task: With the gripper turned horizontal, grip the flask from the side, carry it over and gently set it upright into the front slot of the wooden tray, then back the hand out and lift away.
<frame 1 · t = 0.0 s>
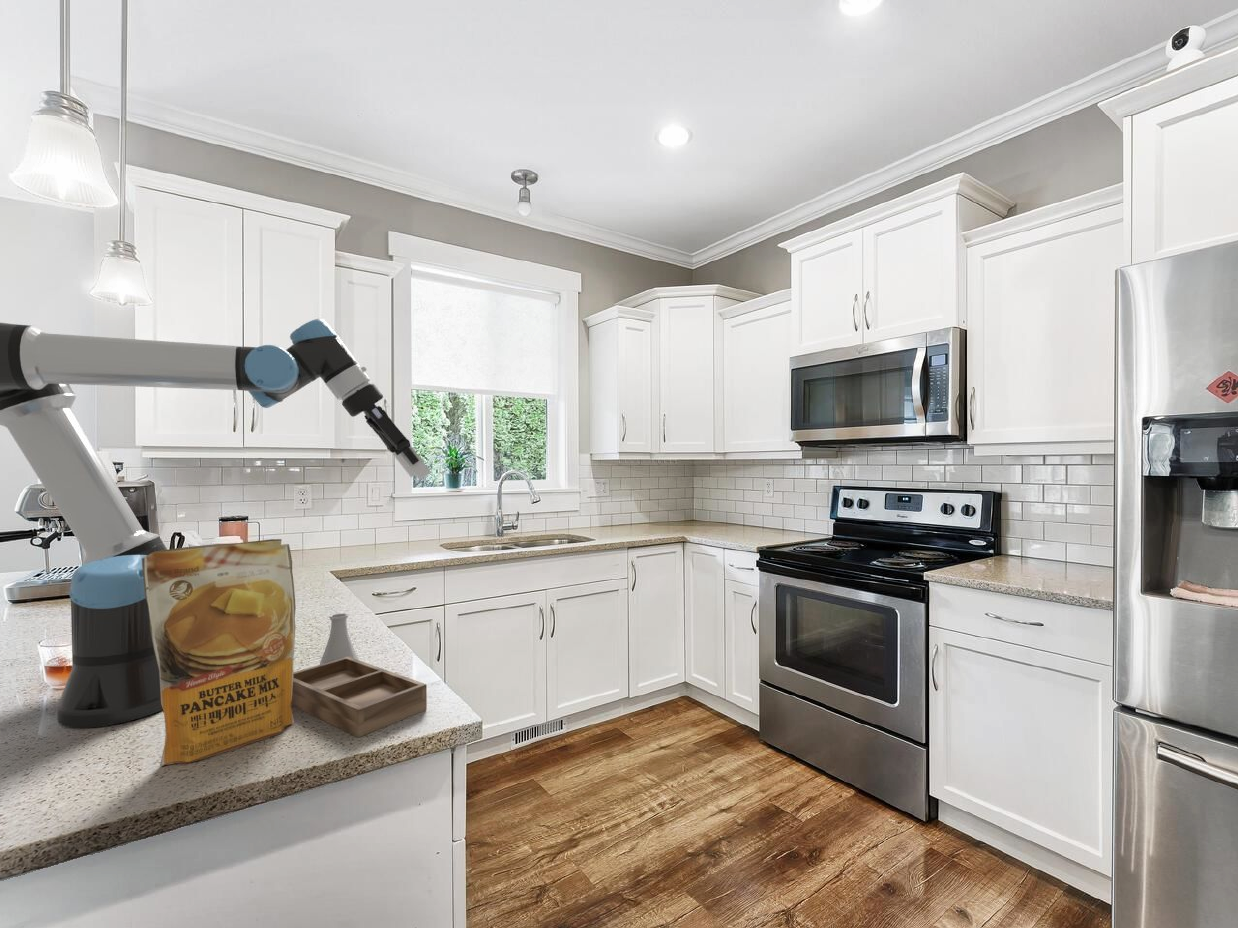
hand: (420, 475, 129), 36 cm above the worktop, tool tilted 35°, fingers open, 13 cm apart
wooden tray: (352, 704, 98), on the worktop
flask: (339, 668, 115), on the worktop
pancake mix bag: (229, 743, 85), on the worktop
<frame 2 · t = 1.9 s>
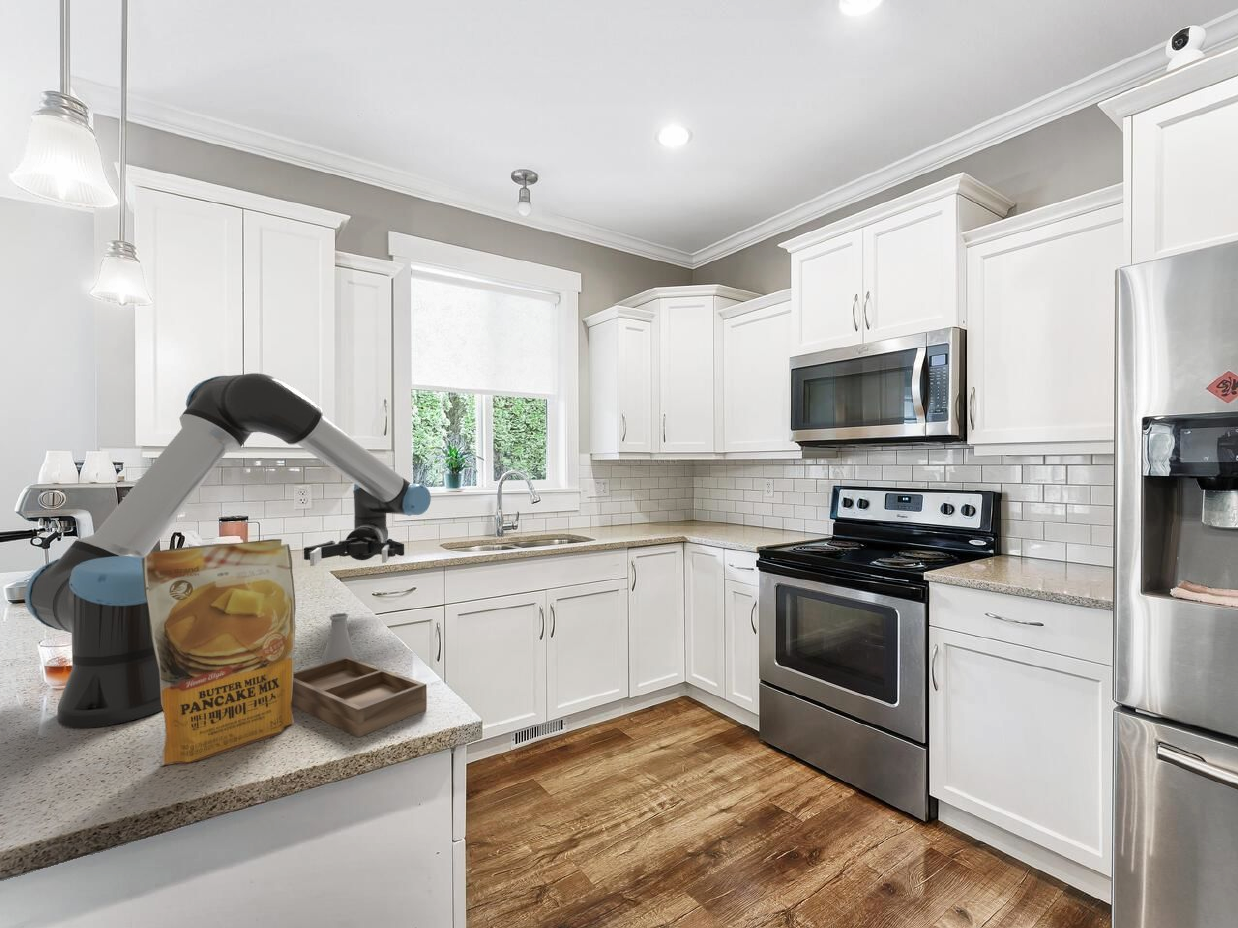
hand: (348, 557, 124), 19 cm above the worktop, tool horizontal, fingers open, 13 cm apart
nothing on the worktop moved.
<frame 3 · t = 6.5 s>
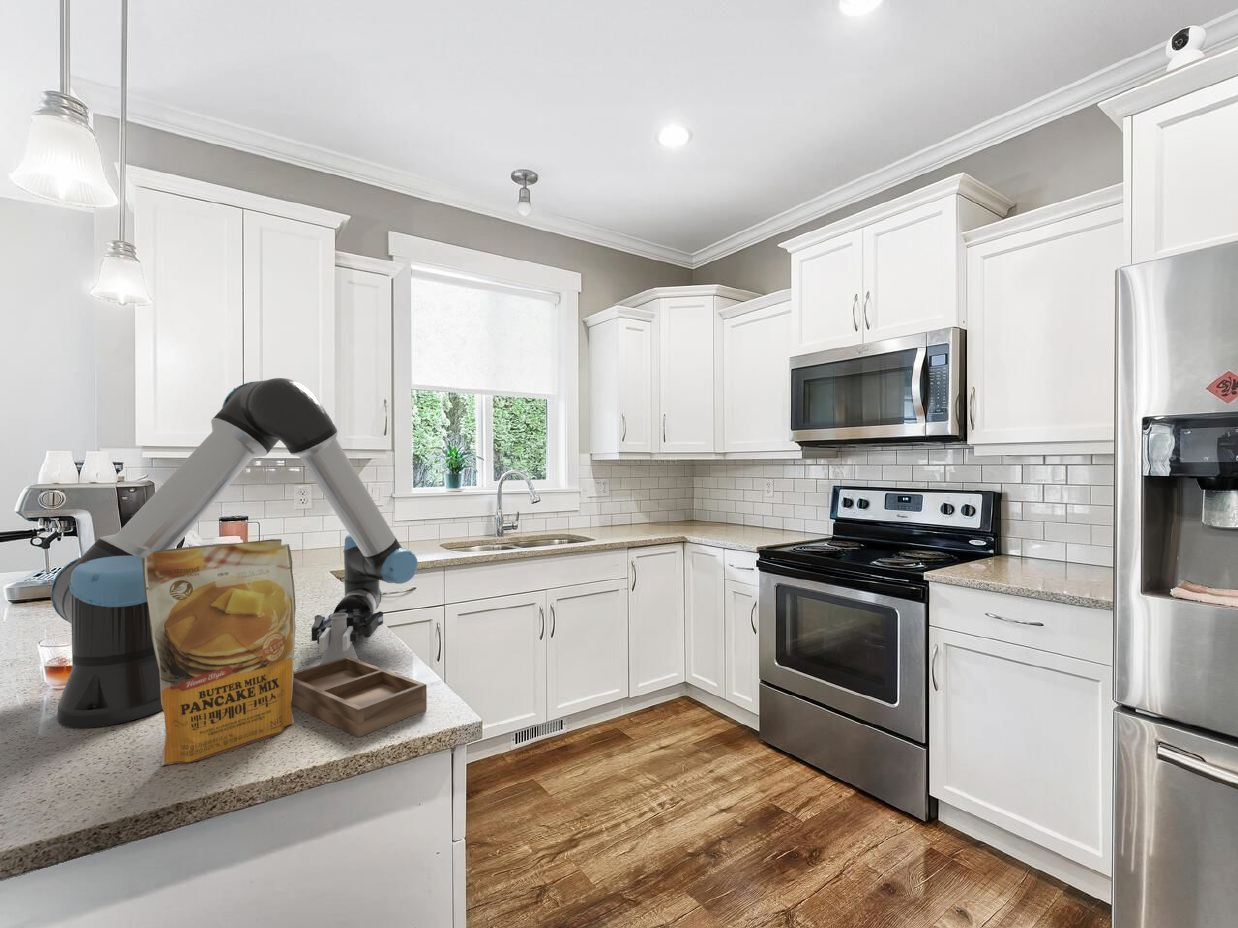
hand: (333, 644, 109), 6 cm above the worktop, tool horizontal, fingers closed on flask, 3 cm apart
flask: (339, 668, 115), on the worktop, touching gripper
everything else where it was.
when the fingers open (10 cm above the worktop, at t = 11.9 s): flask drops 2 cm, resting on wooden tray.
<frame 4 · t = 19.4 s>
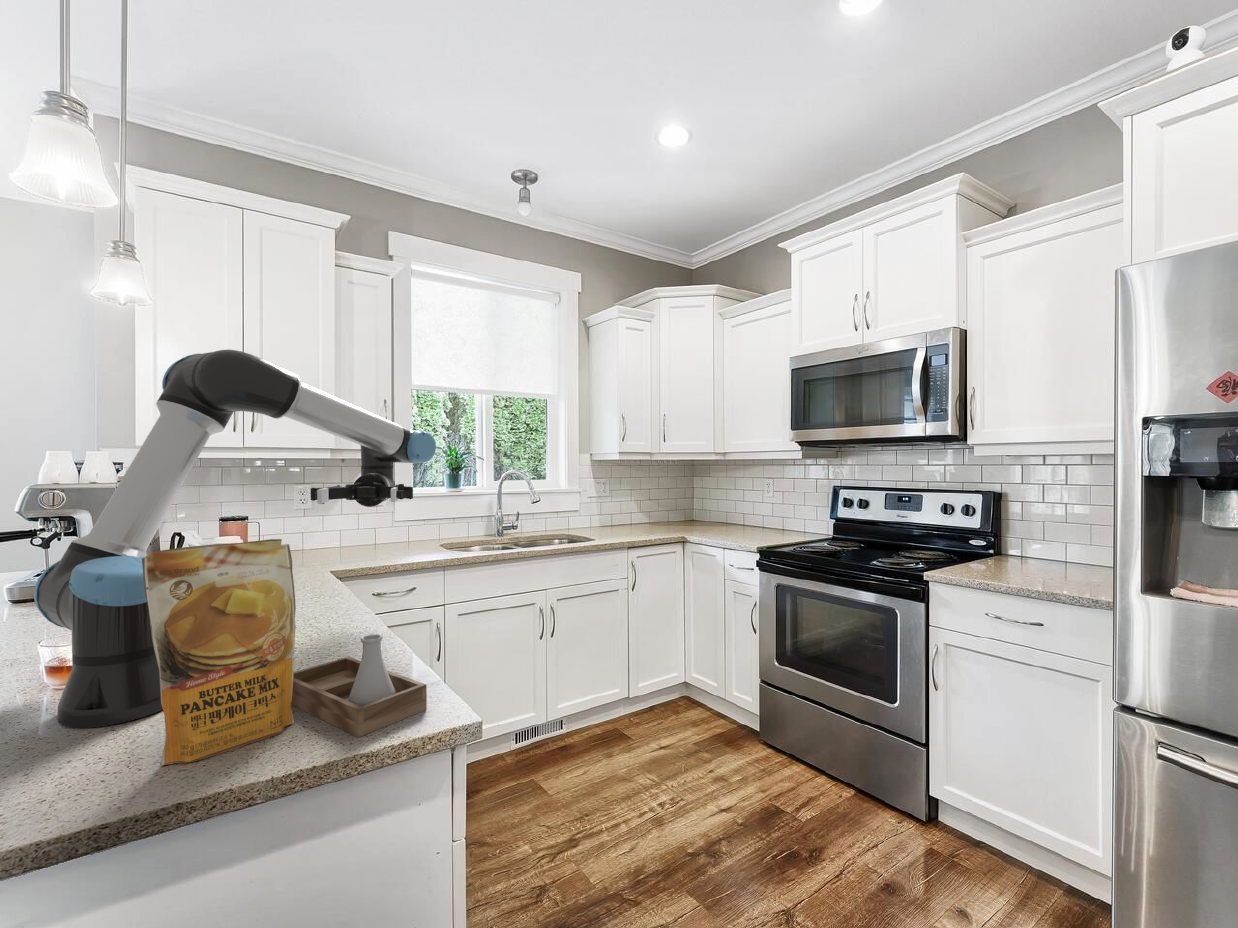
hand: (356, 496, 121), 32 cm above the worktop, tool horizontal, fingers open, 13 cm apart
flask: (372, 701, 95), point 2 cm above the worktop, touching wooden tray
everything else where it was.
at the end: flask inside the target area on the wooden tray (0.0 cm from its centre), point 1.8 cm above the wooden tray's base; flask tilted 0°; the gripper is holding nothing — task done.
